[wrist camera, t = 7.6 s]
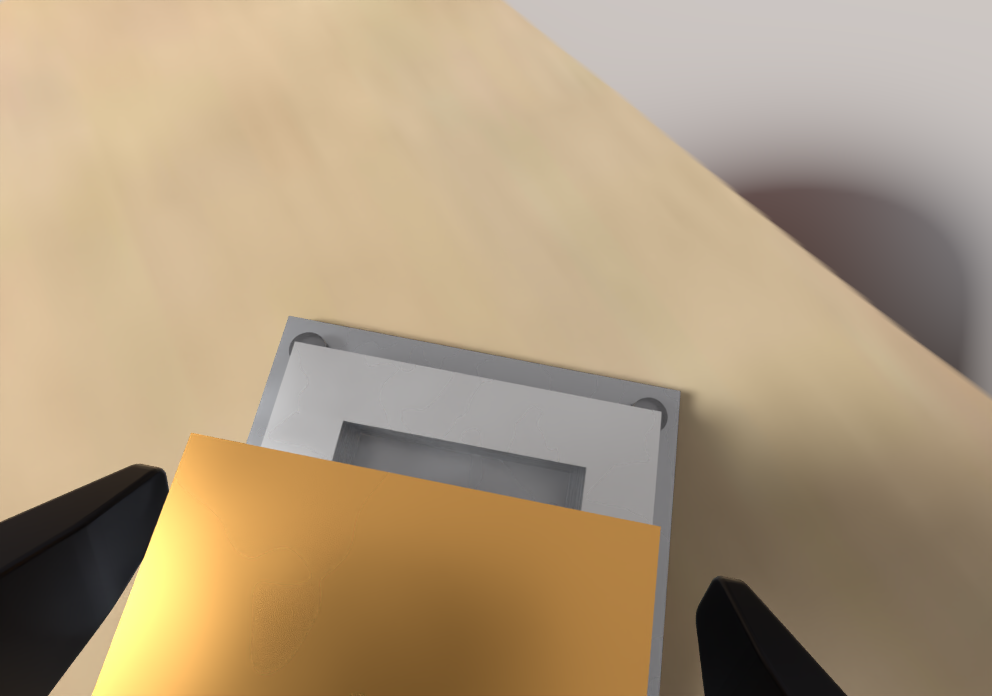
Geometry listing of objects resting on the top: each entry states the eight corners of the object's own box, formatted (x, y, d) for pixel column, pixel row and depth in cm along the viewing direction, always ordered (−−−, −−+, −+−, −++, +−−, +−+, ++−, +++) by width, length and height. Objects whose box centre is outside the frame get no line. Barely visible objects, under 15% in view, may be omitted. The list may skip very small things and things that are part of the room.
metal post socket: (635, 876, 14) (683, 982, 11) (145, 782, 14) (54, 861, 11) (671, 395, 18) (713, 373, 15) (296, 323, 18) (261, 286, 15)
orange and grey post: (492, 651, 15) (602, 1234, 3) (360, 624, 15) (-60, 1099, 3) (516, 511, 16) (660, 526, 4) (394, 487, 16) (191, 432, 4)
